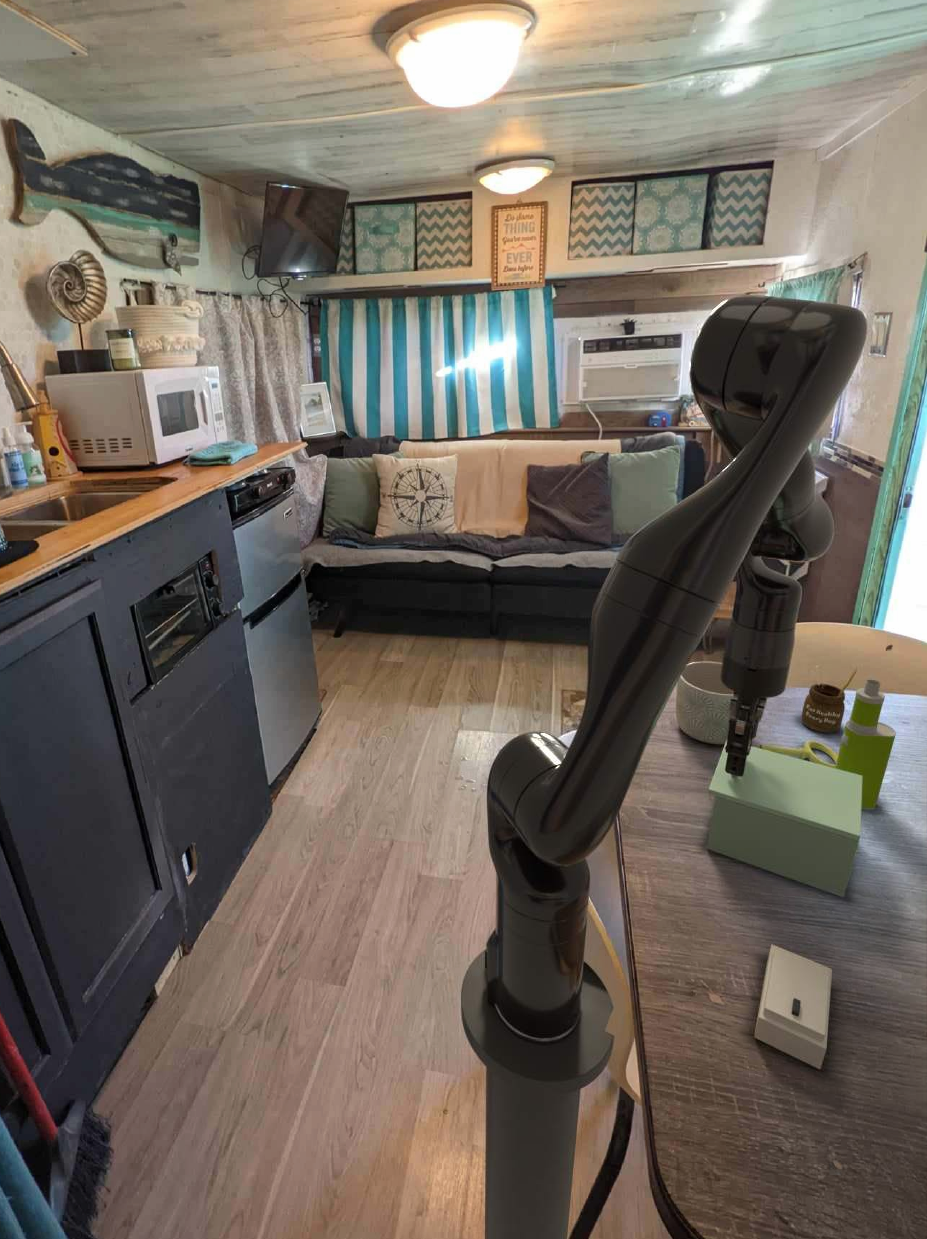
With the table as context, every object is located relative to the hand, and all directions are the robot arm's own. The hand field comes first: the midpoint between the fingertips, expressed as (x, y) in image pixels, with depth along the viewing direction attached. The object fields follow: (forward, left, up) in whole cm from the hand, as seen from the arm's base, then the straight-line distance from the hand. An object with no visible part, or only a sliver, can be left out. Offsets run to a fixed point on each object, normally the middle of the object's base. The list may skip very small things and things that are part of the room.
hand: (737, 762), depth 88 cm
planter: (-7, +24, -11) cm, 27 cm away
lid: (+6, 0, -2) cm, 6 cm away
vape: (+14, +15, -11) cm, 23 cm away
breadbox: (+6, 0, -11) cm, 12 cm away
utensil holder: (+9, +36, -11) cm, 39 cm away
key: (+7, +23, -11) cm, 26 cm away
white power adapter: (+10, -27, -11) cm, 31 cm away
